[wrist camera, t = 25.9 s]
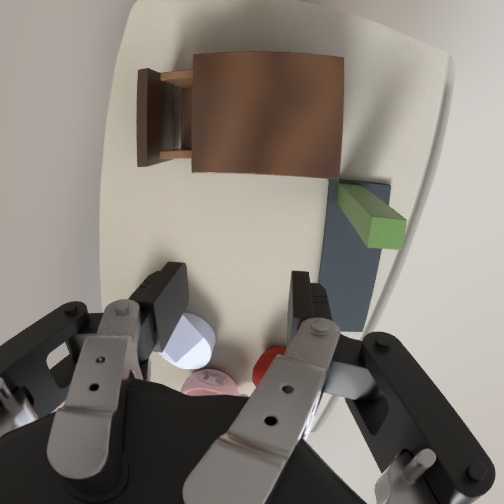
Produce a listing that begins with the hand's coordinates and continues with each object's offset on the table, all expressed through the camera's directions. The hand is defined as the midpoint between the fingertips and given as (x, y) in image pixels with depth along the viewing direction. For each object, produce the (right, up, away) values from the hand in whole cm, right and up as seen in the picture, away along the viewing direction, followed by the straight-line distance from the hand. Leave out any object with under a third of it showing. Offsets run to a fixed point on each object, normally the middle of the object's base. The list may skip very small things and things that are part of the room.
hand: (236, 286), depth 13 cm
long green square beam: (+13, +9, +22) cm, 27 cm away
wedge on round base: (-11, -10, +33) cm, 36 cm away
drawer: (-4, +17, +20) cm, 27 cm away
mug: (-5, -22, +37) cm, 43 cm away
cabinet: (+3, +17, +20) cm, 27 cm away
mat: (+14, 0, +26) cm, 29 cm away
